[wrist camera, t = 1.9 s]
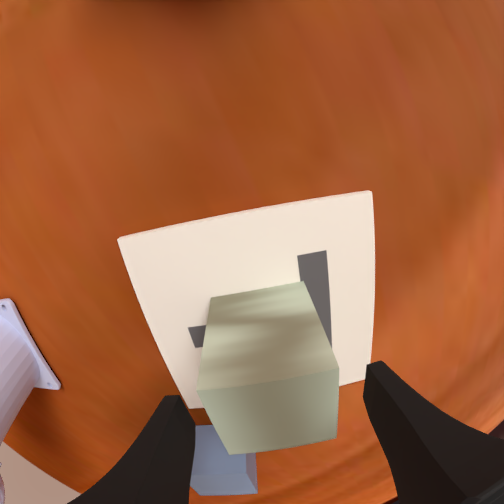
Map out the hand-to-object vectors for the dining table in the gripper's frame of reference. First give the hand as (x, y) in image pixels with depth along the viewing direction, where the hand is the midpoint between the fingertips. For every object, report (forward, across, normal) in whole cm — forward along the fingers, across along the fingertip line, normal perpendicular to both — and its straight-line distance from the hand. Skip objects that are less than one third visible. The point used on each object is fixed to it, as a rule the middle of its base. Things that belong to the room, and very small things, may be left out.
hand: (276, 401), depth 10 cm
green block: (+5, 0, 0) cm, 5 cm away
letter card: (+5, 0, 0) cm, 5 cm away
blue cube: (+6, +5, +11) cm, 13 cm away
